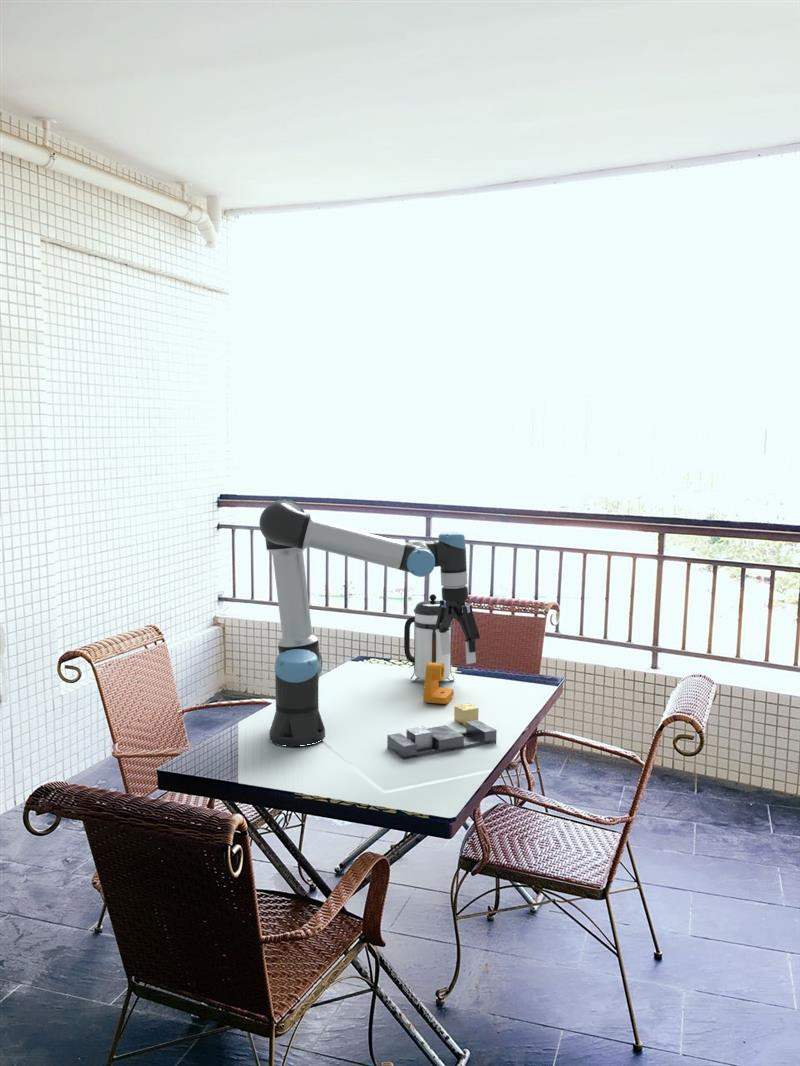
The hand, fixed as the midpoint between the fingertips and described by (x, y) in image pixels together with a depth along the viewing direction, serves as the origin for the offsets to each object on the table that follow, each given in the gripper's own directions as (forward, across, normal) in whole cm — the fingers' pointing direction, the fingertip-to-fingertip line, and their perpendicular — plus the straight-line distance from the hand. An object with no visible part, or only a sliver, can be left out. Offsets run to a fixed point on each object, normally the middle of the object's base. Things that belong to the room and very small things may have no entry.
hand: (458, 658), depth 250 cm
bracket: (+19, +20, -4) cm, 28 cm away
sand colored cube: (+19, -2, 0) cm, 19 cm away
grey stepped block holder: (+18, -16, +16) cm, 29 cm away
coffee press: (+18, +41, -13) cm, 47 cm away
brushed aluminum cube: (+17, -16, +23) cm, 33 cm away
